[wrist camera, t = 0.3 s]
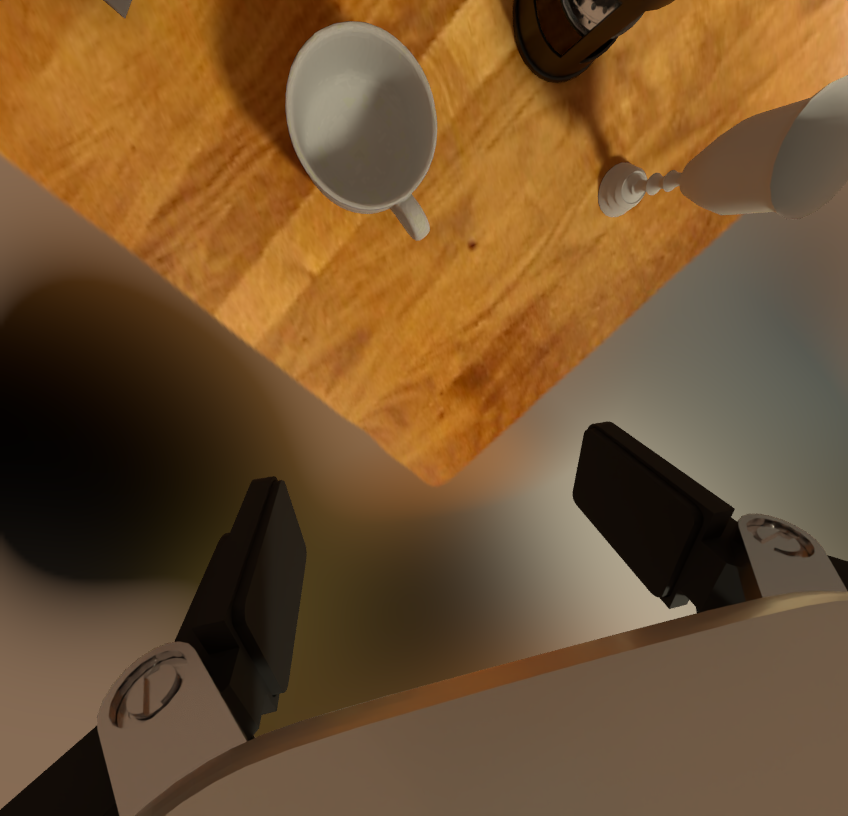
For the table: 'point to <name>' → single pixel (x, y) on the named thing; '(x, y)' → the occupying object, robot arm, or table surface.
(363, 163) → the teacup
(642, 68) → the table surface
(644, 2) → the french press
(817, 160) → the chalice
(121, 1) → the key console
